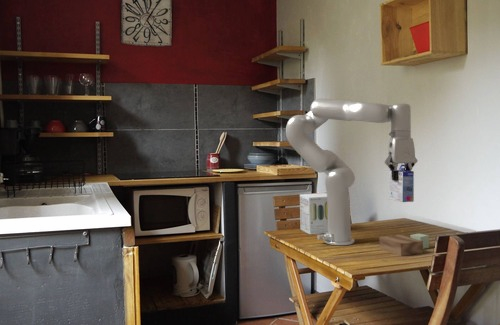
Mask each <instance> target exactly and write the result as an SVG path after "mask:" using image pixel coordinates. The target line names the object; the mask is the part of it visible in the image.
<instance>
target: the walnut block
mask: <svg viewBox="0 0 500 325" xmlns="http://www.w3.org/2000/svg"><path fill="white" fill-rule="evenodd" d="M378 239H379V249H380V250H382V251H386V252H389V253H391V254H394V255H397V256H400V257H405V256H411V255H412V256H413V255H419V254H424V249H423V241H421V240H417V239H414V238H410V237H409V236H407V235H403V234H395V235H385V236H379V238H378Z"/></svg>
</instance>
